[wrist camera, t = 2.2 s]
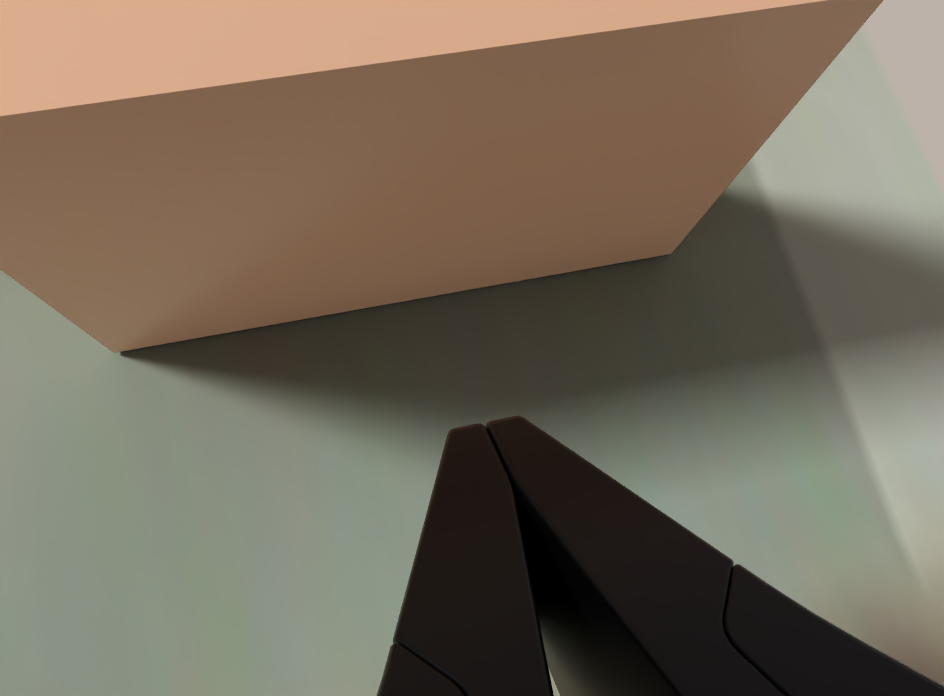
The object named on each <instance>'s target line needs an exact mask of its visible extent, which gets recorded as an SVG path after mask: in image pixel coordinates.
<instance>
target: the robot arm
mask: <svg viewBox="0 0 944 696" xmlns="http://www.w3.org/2000/svg"><path fill="white" fill-rule="evenodd" d="M548 667H549V669H548ZM549 670H550V672H551V674H552V677H553V679H554V682H555V684H556V686H557V689H558V691H559V694H560V696H944V686H942V685H940V684H939V683H937V682H935V681H933V680H931V679H929V678H928V677H926V676H924V675H922V674H920V673H919V672H917V671H915V670H913V669H911V668H910V667H908V666H906V665H904V664H902V663H900V662H899V661H897V660H895V659H893V658H891V657H890V656H888V655H886V654H884V653H882V652H881V651H879V650H877V649H875V648H873V647H872V646H870V645H868V644H866V643H864V642H863V641H861V640H859V639H857V638H856V637H854V636H852V635H851V634H849V633H847V632H845V631H844V630H842V629H840V628H838V627H837V626H835V625H833V624H832V623H830V622H828V621H826V620H825V619H823V618H821V617H819V616H818V615H816V614H814V613H813V612H811V611H809V610H808V609H806V608H805V607H803V606H802V605H800V604H799V603H797V602H795V601H794V600H792V599H791V598H789V597H788V596H786V595H785V594H783V593H781V592H780V591H778V590H777V589H775V588H774V587H772V586H771V585H769V584H768V583H766V582H765V581H763V580H762V579H760V578H759V577H757V576H756V575H754V574H753V573H751V572H750V571H748V570H747V569H745V568H744V567H743V566H741V565H739V564H737V565H734V562H733V560H732V559H730V558H729V557H727V556H726V555H724V554H723V553H721V552H720V551H719V550H717V549H716V548H714V547H713V546H711V545H710V544H708V543H707V542H705V541H704V540H702V539H701V538H699V537H698V536H697V535H695V534H694V533H692V532H691V531H689V530H688V529H686V528H685V527H683V526H682V525H680V524H679V523H677V522H676V521H675V520H673V519H672V518H670V517H669V516H667V515H666V514H664V513H663V512H661V511H660V510H658V509H657V508H655V507H654V506H652V505H651V504H650V503H648V502H647V501H645V500H644V499H642V498H641V497H639V496H638V495H636V494H635V493H633V492H632V491H630V490H629V489H628V488H626V487H625V486H623V485H622V484H620V483H619V482H617V481H616V480H614V479H613V478H611V477H610V476H608V475H607V474H606V473H604V472H603V471H601V470H600V469H598V468H597V467H595V466H594V465H592V464H591V463H589V462H588V461H586V460H585V459H583V458H582V457H581V456H579V455H578V454H576V453H575V452H573V451H572V450H570V449H569V448H567V447H566V446H564V445H563V444H561V443H560V442H559V441H557V440H556V439H554V438H553V437H551V436H550V435H548V434H547V433H545V432H544V431H542V430H541V429H539V428H538V427H537V426H535V425H534V424H532V423H531V422H529V421H528V420H526V419H525V418H523V417H520V416H513V417H508V418H503V419H498V420H494V421H490V422H488V423H487V425H486V427H485V426H484V425H482V424H473V425H468V426H463V427H458V428H454V429H451V430H450V431H449V433H448V435H447V439H446V442H445V446H444V450H443V454H442V457H441V461H440V465H439V469H438V472H437V476H436V480H435V484H434V487H433V491H432V495H431V499H430V502H429V506H428V510H427V514H426V517H425V521H424V525H423V529H422V532H421V536H420V540H419V544H418V547H417V551H416V555H415V559H414V562H413V566H412V570H411V574H410V577H409V581H408V585H407V589H406V592H405V596H404V600H403V604H402V607H401V611H400V615H399V619H398V622H397V626H396V630H395V634H394V637H393V645H392V646H391V647H390V651H389V655H388V658H387V662H386V666H385V669H384V673H383V677H382V680H381V683H380V687H379V690H378V693H377V696H554V695H553V690H552V685H551V679H550V674H549Z"/></svg>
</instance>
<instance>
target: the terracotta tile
mask: <svg viewBox="0 0 944 696" xmlns="http://www.w3.org/2000/svg"><path fill="white" fill-rule="evenodd" d="M882 1H883V0H0V269H1V270H2V271H3V272H5V273H6V274H7V275H9V276H10V277H11V278H13V279H14V280H15V281H17V282H18V283H20V284H21V285H22V286H24V287H25V288H26V289H28V290H29V291H30V292H32V293H33V294H34V295H36V296H37V297H39V298H40V299H41V300H43V301H44V302H45V303H47V304H48V305H49V306H51V307H52V308H54V309H55V310H56V311H58V312H59V313H60V314H62V315H63V316H64V317H66V318H67V319H68V320H70V321H71V322H73V323H74V324H75V325H77V326H78V327H79V328H81V329H82V330H83V331H85V332H86V333H87V334H89V335H90V336H92V337H93V338H94V339H96V340H97V341H98V342H100V343H101V344H102V345H104V346H105V347H106V348H108V349H109V350H111V351H112V352H113V353H116V352H121V351H127V350H133V349H138V348H144V347H150V346H155V345H161V344H166V343H172V342H178V341H183V340H189V339H195V338H200V337H206V336H211V335H217V334H223V333H228V332H234V331H240V330H245V329H251V328H256V327H262V326H268V325H273V324H279V323H285V322H290V321H296V320H302V319H307V318H313V317H318V316H324V315H330V314H335V313H341V312H347V311H352V310H358V309H363V308H369V307H375V306H380V305H386V304H392V303H397V302H403V301H408V300H414V299H420V298H425V297H431V296H437V295H442V294H448V293H453V292H459V291H465V290H470V289H476V288H482V287H487V286H493V285H499V284H504V283H510V282H515V281H521V280H527V279H532V278H538V277H544V276H549V275H555V274H560V273H566V272H572V271H577V270H583V269H589V268H594V267H600V266H605V265H611V264H617V263H622V262H628V261H634V260H639V259H645V258H651V257H656V256H662V255H667V254H672V253H673V251H674V250H675V249H676V248H677V247H678V245H679V244H680V243H681V242H682V241H683V239H684V238H685V237H686V236H687V235H688V233H689V232H690V231H691V230H692V229H693V227H694V226H695V225H696V224H697V223H698V221H699V220H700V219H701V218H702V217H703V215H704V214H705V213H706V212H707V211H708V209H709V208H710V207H711V206H712V205H713V204H714V202H715V201H716V200H717V199H718V198H719V196H720V195H721V194H722V193H723V192H724V190H725V189H726V188H727V187H728V186H729V184H730V183H731V182H732V181H733V180H734V178H735V177H736V176H737V175H738V174H739V172H740V171H741V170H742V169H743V168H744V166H745V165H746V164H747V163H748V162H749V160H750V159H751V158H752V157H753V156H754V154H755V153H756V152H757V151H758V150H759V148H760V147H761V146H762V145H763V144H764V142H765V141H766V140H767V139H768V138H769V137H770V135H771V134H772V133H773V132H774V131H775V129H776V128H777V127H778V126H779V125H780V123H781V122H782V121H783V120H784V119H785V117H786V116H787V115H788V114H789V113H790V111H791V110H792V109H793V108H794V107H795V105H796V104H797V103H798V102H799V101H800V99H801V98H802V97H803V96H804V95H805V93H806V92H807V91H808V90H809V89H810V87H811V86H812V85H813V84H814V83H815V81H816V80H817V79H818V78H819V77H820V75H821V74H822V73H823V72H824V71H825V70H826V68H827V67H828V66H829V65H830V64H831V62H832V61H833V60H834V59H835V58H836V56H837V55H838V54H839V53H840V52H841V50H842V49H843V48H844V47H845V46H846V44H847V43H848V42H849V41H850V40H851V38H852V37H853V36H854V35H855V34H856V32H857V31H858V30H859V29H860V28H861V26H862V25H863V24H864V23H865V22H866V20H867V19H868V18H869V17H870V16H871V14H872V13H873V12H874V11H875V10H876V8H877V7H878V6H879V5H880V4H881V2H882Z"/></svg>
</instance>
